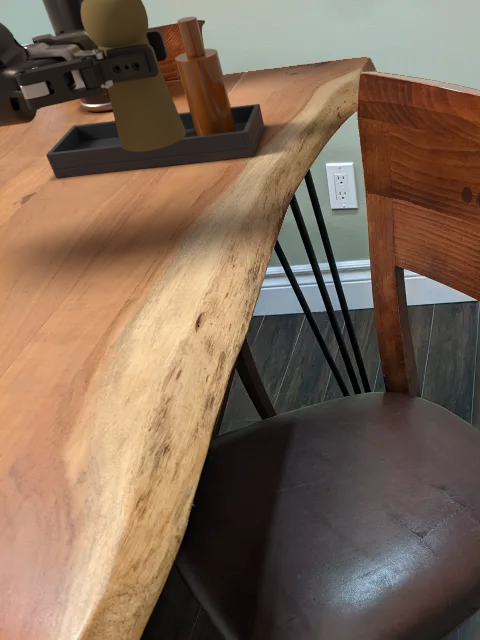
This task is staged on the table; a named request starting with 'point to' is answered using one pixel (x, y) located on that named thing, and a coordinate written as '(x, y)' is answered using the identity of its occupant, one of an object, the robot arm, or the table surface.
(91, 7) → the olive peg figure
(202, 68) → the amber bottle
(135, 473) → the table surface
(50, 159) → the tray
